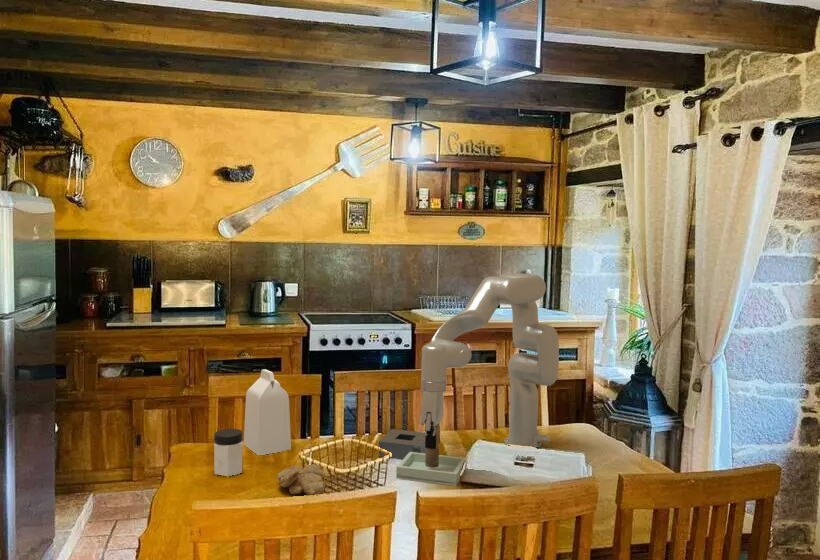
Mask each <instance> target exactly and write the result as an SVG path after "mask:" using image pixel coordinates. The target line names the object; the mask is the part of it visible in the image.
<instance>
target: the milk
mask: <svg viewBox="0 0 820 560" xmlns="http://www.w3.org/2000/svg"><path fill="white" fill-rule="evenodd" d="M244 409H245V410H244V411H245V413H244V425H243V426H244V431H243V446H244V445H245V446H246V447H248V448H249V449H250V450H252V451H253V452H254V453H256V454H257V455H265V454H270V453H271V454H270V455H273V454H272V453H275V454H278V453H277V452H280V453H283V452H282V451H285V452H287V451H286V450H289V449H291V450H292V440H291V438H292V436H291V418H290V417H291V414H290V413H291V412H290V396H289V393H288V392H287V391H286V390H285V389H284V388H283V387H282V386H281V383H280V382H279V381H278V380H276V379H275V375H274V372H272V371H270V370H268V369H266V368H265V369H261V371H260V377H259V378H257V380H256V381H255V382H254V383H253V384H252V385H251V386H250V387H249V388H248V389H247V391H246V393H245V408H244ZM289 451H290V450H289ZM254 453H253V454H254ZM265 456H266V455H265Z"/></svg>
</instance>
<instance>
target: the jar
mask: <svg viewBox="0 0 820 560" xmlns="http://www.w3.org/2000/svg"><path fill="white" fill-rule="evenodd" d="M213 440H214V445H213V447H214V449H213V451H214V452H213V453H214V454H213V456H214V457H213V458H214V460H213V461H214V475H215V474H219V475H224V476H231V477H233V476H232V475H234V476H237V474H238V475H241V474H240V473H243V441H244V431H243V430H241V429H237V428H225V429H220V430H216V431H215V432H214V437H213Z"/></svg>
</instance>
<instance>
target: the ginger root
mask: <svg viewBox="0 0 820 560" xmlns="http://www.w3.org/2000/svg"><path fill="white" fill-rule="evenodd" d="M322 474H323V475H324V476H326V475H327V474H326V472H324V470H323V469H322V467H321V465H320V466H318V465H315V464H312V465H309V463H308V464H307V465H306V466H305V467H303V468H301V467H300V466H298V465H291V466H289V467H286V468H285V469H283V470H282V471H280V472H278V473H277V476H276V478H277V480H278V482H279V486H280V487H283V488H288V487H289V488H288V491H289V494H291V495H299V494H301V493H304V494H306V495H307V496H310V495H315V494H319V495H321V493H322V494H323V492H325V487H326V483H325V481H324V482H322V477H321V475H322Z"/></svg>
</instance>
